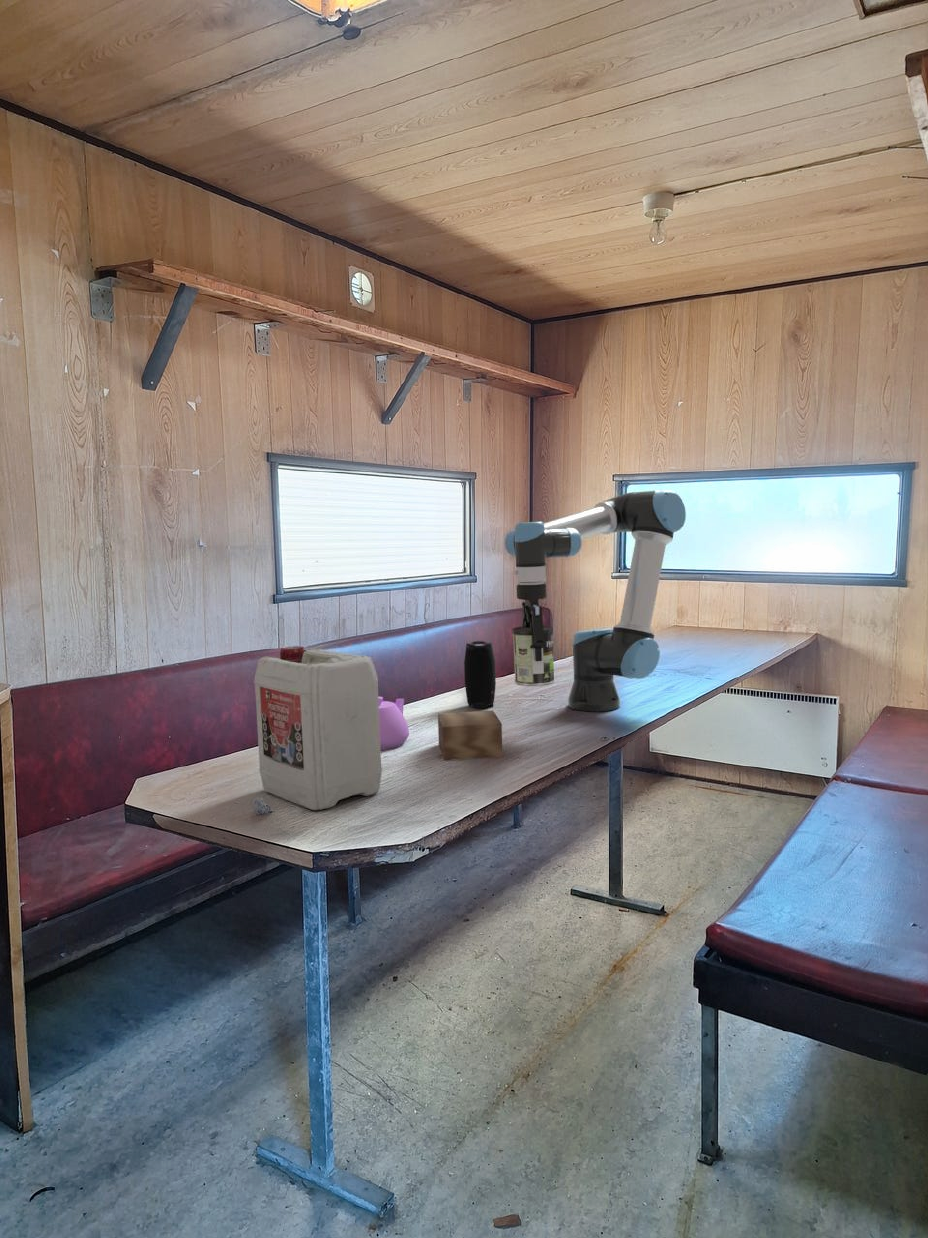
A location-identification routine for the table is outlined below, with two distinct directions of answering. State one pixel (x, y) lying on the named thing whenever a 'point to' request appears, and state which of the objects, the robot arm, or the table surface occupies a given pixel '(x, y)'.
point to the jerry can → (318, 726)
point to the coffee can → (524, 657)
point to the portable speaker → (479, 674)
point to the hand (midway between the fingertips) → (534, 669)
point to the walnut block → (470, 735)
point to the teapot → (392, 724)
